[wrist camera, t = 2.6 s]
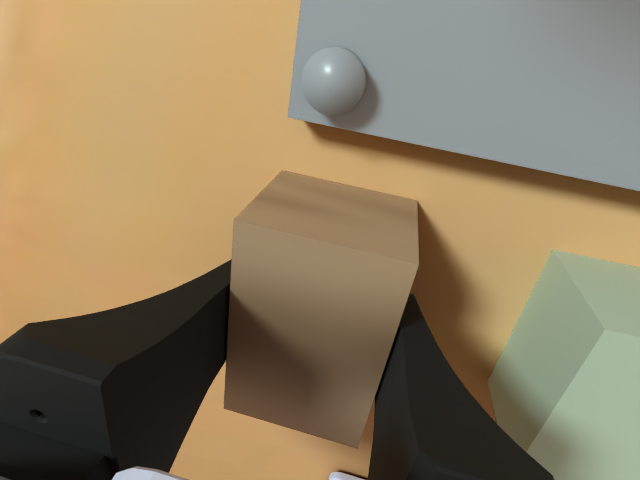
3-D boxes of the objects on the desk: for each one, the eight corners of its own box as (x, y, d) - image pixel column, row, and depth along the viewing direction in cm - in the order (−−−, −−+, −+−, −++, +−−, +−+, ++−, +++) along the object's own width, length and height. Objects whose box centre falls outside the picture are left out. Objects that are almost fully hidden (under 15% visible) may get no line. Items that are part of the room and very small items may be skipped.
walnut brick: (369, 358, 16) (357, 448, 12) (264, 329, 16) (223, 408, 13) (417, 200, 12) (418, 264, 9) (281, 170, 13) (233, 219, 9)
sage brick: (608, 409, 15) (669, 524, 11) (487, 378, 15) (508, 479, 12) (705, 279, 12) (827, 380, 8) (551, 247, 12) (605, 329, 9)
